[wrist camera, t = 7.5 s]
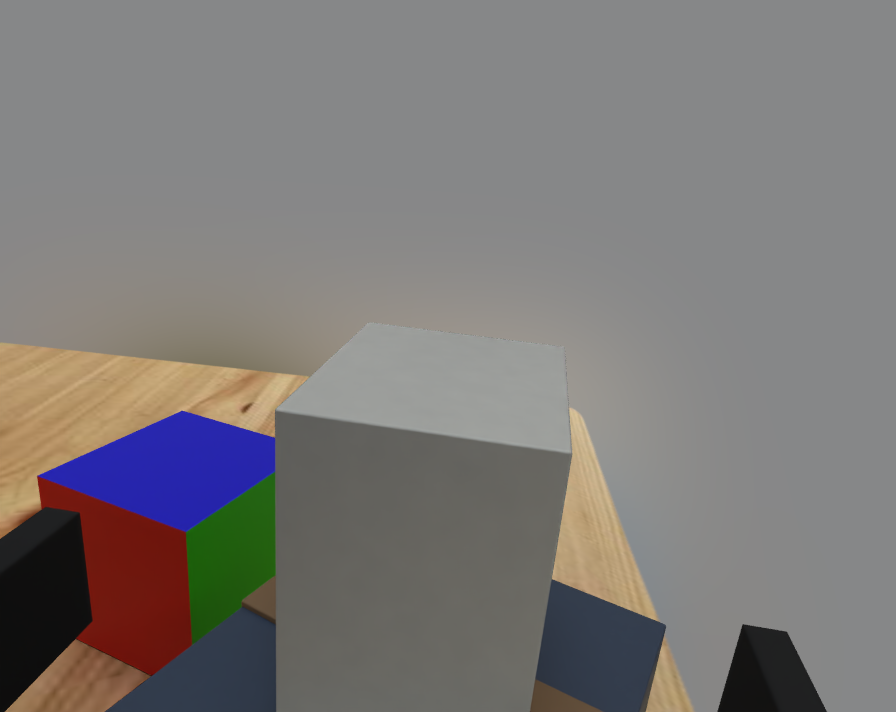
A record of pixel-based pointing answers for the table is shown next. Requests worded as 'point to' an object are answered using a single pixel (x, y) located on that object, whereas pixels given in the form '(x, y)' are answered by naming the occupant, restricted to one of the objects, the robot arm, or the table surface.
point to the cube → (169, 532)
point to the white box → (418, 523)
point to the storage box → (556, 683)
